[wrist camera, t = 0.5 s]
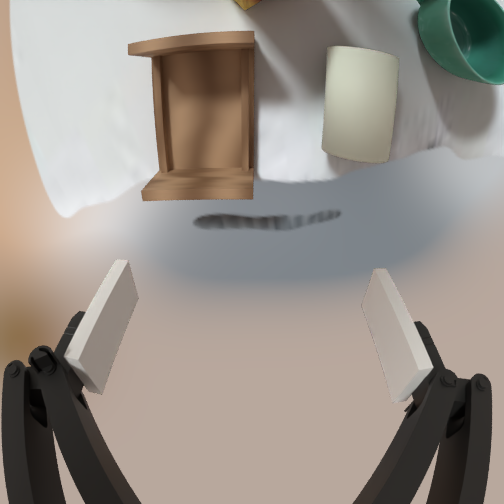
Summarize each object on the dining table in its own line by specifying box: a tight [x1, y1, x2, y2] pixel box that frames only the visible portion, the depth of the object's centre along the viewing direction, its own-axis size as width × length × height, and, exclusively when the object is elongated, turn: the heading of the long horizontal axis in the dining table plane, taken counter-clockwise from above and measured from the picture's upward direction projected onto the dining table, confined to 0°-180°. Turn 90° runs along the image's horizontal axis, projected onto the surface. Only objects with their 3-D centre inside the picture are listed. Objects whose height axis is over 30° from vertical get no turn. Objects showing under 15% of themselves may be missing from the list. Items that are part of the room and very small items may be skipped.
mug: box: [417, 0, 504, 85], centre depth 19 cm, size 17×13×10 cm
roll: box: [321, 46, 399, 163], centre depth 27 cm, size 12×8×8 cm, turn 0°
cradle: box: [128, 31, 254, 201], centre depth 29 cm, size 12×18×8 cm, turn 0°
